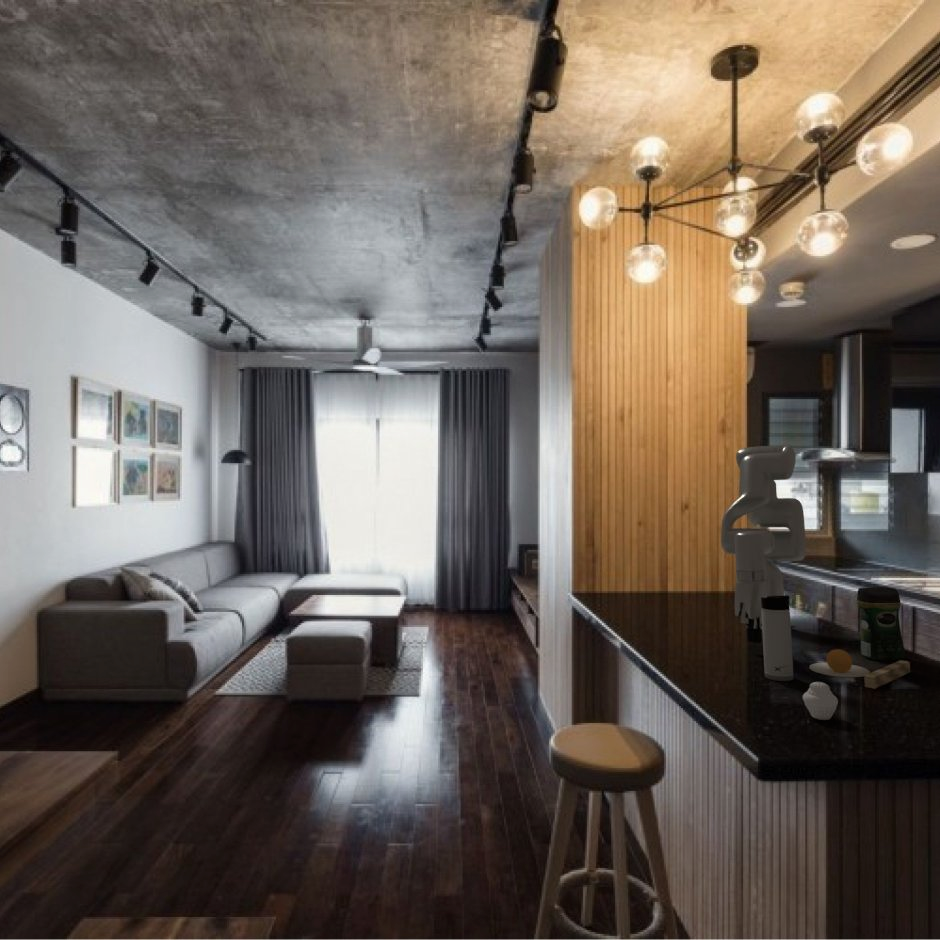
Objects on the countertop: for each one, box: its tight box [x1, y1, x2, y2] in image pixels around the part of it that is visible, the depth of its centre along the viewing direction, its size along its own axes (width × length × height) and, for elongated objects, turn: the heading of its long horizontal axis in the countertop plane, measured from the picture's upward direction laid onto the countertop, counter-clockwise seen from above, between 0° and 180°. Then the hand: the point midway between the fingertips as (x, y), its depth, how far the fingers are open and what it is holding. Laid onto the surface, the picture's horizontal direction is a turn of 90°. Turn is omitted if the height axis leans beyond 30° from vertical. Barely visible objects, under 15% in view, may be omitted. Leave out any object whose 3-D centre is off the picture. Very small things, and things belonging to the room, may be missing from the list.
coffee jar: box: [856, 586, 906, 662], centre depth 168 cm, size 10×8×19 cm
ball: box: [826, 648, 853, 673], centre depth 156 cm, size 6×6×6 cm
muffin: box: [802, 681, 839, 721], centre depth 126 cm, size 6×6×7 cm
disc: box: [808, 661, 871, 678], centre depth 158 cm, size 13×13×1 cm
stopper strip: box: [863, 660, 911, 689], centre depth 149 cm, size 20×2×2 cm, turn 126°
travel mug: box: [761, 594, 794, 682], centre depth 153 cm, size 6×7×20 cm
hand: (754, 641), depth 177 cm, fingers closed
